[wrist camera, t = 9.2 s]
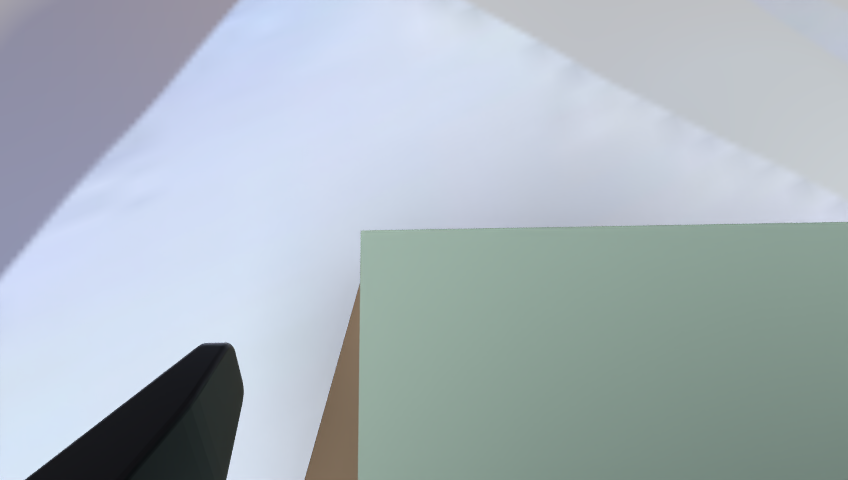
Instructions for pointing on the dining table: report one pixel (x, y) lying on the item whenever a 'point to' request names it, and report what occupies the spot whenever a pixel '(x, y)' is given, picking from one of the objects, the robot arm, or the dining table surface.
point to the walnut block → (340, 414)
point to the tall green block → (605, 353)
